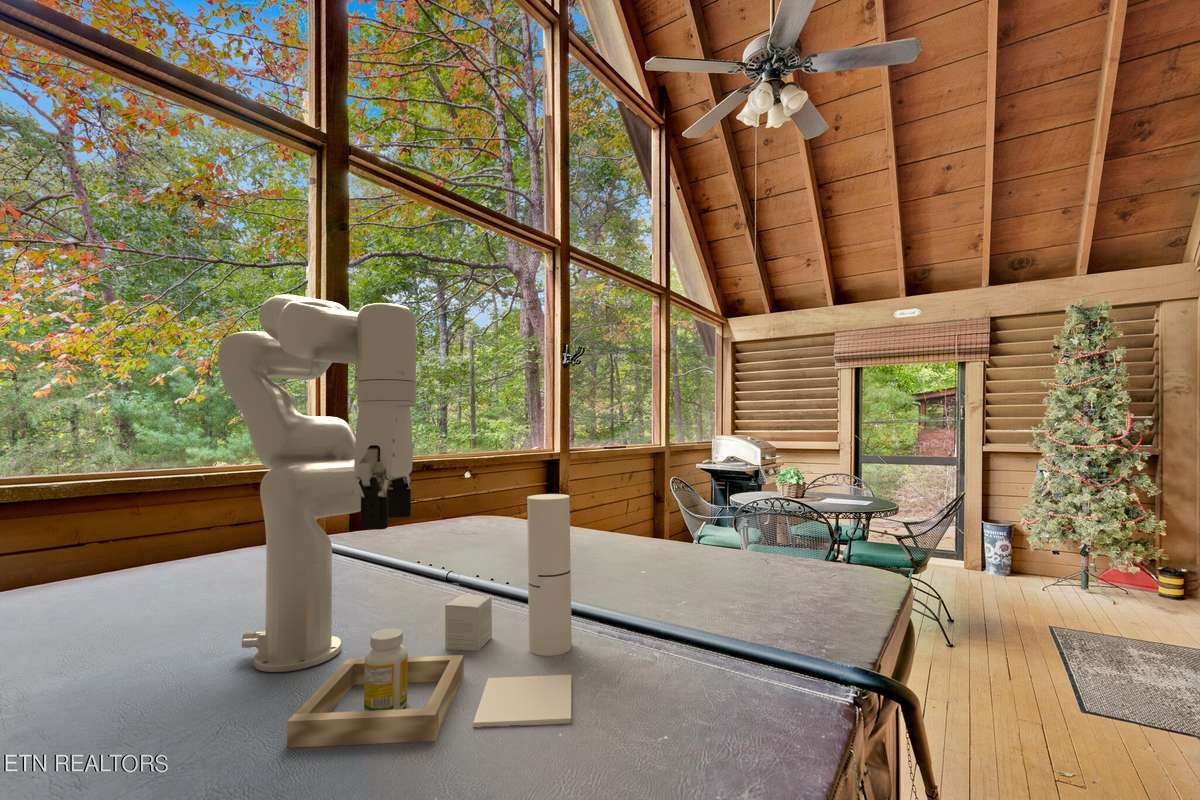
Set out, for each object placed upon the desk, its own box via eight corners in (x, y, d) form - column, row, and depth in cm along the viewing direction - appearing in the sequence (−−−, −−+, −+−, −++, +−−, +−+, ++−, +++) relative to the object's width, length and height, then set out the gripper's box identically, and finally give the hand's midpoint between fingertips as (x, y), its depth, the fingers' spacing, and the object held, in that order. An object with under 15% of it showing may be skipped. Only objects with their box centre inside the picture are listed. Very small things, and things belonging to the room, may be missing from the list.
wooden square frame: (287, 747, 63) (287, 721, 64) (347, 680, 80) (347, 659, 81) (435, 740, 64) (435, 714, 65) (463, 675, 81) (463, 655, 81)
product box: (460, 635, 97) (460, 593, 98) (493, 637, 96) (492, 595, 96) (444, 649, 91) (444, 604, 92) (478, 651, 90) (478, 606, 90)
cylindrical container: (565, 657, 87) (563, 499, 89) (522, 654, 89) (521, 499, 90) (576, 640, 94) (574, 494, 96) (536, 637, 96) (535, 493, 97)
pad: (473, 727, 67) (473, 722, 67) (488, 682, 79) (488, 678, 79) (571, 723, 68) (570, 718, 68) (571, 678, 80) (571, 674, 80)
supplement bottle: (376, 722, 69) (377, 644, 69) (356, 709, 72) (356, 635, 73) (415, 705, 73) (415, 632, 73) (394, 693, 76) (394, 623, 77)
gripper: (381, 400, 83) (381, 514, 82) (331, 391, 66) (330, 536, 65) (431, 399, 83) (432, 512, 82) (394, 390, 66) (395, 533, 65)
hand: (387, 522), depth 73 cm, fingers open, 9 cm apart
